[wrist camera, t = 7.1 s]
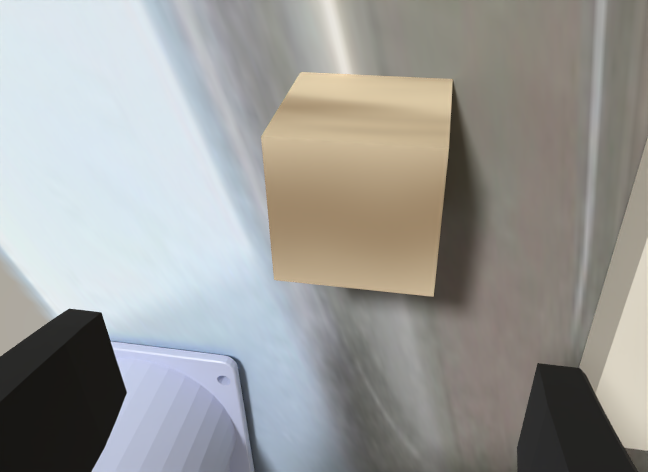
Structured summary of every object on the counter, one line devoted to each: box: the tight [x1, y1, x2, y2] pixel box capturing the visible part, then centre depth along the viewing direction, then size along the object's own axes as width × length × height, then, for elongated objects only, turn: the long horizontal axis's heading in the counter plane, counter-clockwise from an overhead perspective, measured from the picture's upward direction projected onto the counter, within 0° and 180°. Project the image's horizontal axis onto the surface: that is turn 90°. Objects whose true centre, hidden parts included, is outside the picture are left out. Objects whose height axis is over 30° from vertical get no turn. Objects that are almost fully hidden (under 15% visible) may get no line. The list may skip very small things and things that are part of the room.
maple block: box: [261, 72, 453, 297], centre depth 16 cm, size 4×4×4 cm
